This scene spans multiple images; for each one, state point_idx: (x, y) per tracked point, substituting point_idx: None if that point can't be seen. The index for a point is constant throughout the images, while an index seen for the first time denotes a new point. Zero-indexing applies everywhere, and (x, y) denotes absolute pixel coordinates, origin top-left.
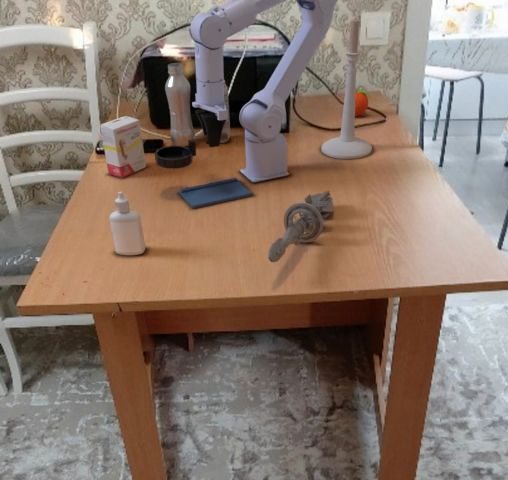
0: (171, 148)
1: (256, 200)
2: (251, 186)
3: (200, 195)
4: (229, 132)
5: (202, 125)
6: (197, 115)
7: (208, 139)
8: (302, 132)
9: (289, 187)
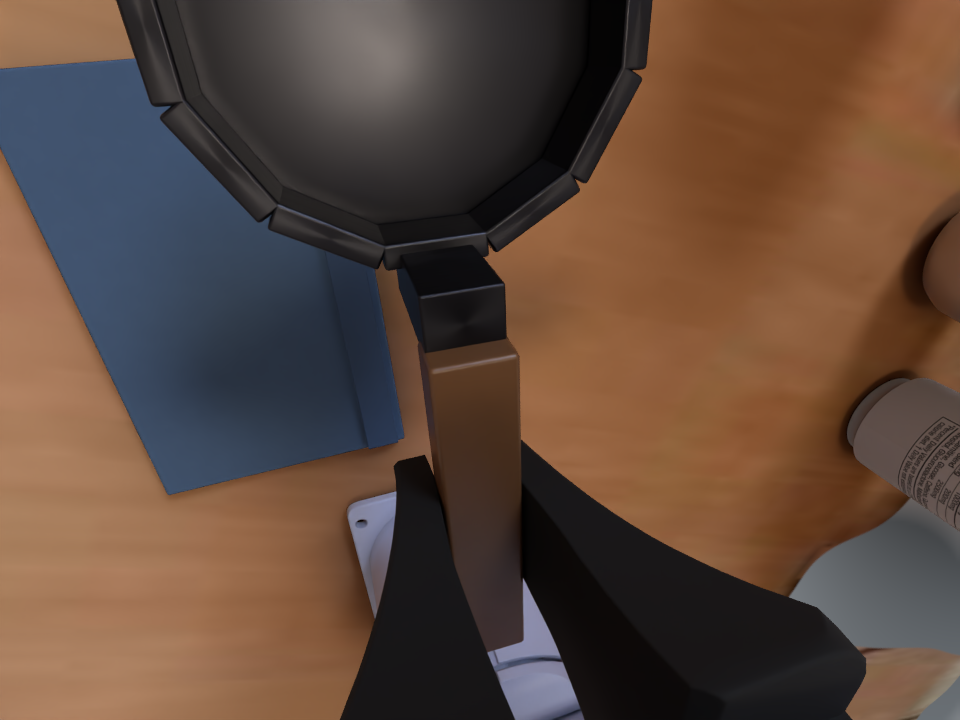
0: (611, 43)
1: (95, 499)
2: (311, 490)
3: (190, 188)
4: (878, 474)
5: (589, 556)
6: (746, 614)
7: (408, 506)
8: None
9: (245, 634)
